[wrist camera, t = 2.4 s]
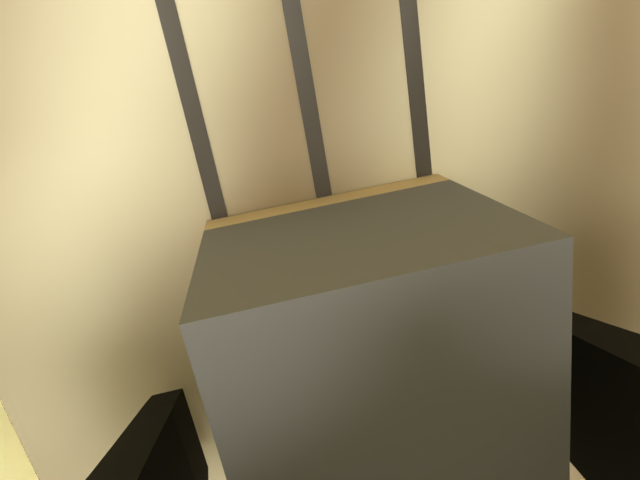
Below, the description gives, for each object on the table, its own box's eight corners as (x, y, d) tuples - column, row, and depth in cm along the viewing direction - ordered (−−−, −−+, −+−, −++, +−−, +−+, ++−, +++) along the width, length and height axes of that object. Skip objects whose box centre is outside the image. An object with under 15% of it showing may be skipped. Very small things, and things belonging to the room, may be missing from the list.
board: (658, -460, 7) (708, -525, 7) (610, 443, 13) (633, 466, 13) (-332, -381, 6) (-419, -451, 5) (111, 578, 12) (102, 613, 11)
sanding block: (437, 173, 9) (573, 236, 5) (463, 483, 12) (566, 670, 8) (206, 221, 9) (178, 324, 5) (287, 531, 11) (310, 750, 8)
